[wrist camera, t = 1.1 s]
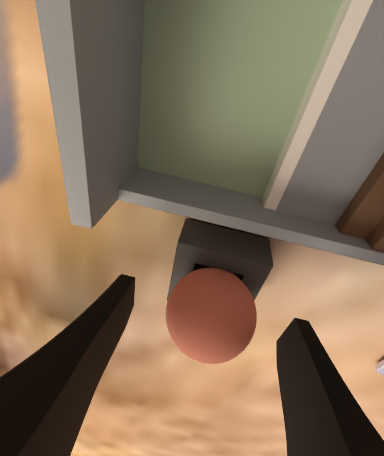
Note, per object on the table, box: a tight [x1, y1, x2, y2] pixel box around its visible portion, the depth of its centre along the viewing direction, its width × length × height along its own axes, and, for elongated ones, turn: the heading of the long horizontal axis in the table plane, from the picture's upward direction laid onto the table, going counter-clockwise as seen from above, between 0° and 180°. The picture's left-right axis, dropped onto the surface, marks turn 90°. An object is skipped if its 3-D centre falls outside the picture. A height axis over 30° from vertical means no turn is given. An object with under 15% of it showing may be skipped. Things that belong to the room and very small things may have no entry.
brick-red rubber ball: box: [166, 268, 256, 364], centre depth 11 cm, size 4×4×4 cm
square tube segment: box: [167, 218, 273, 301], centre depth 13 cm, size 4×4×2 cm
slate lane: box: [35, 0, 384, 265], centre depth 7 cm, size 14×8×4 cm, turn 80°
